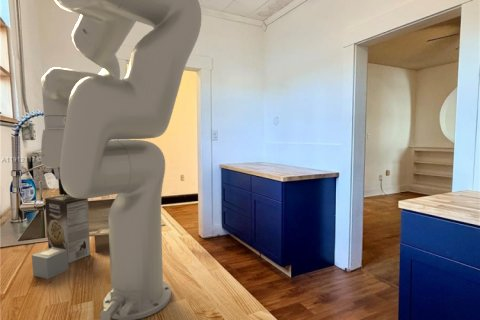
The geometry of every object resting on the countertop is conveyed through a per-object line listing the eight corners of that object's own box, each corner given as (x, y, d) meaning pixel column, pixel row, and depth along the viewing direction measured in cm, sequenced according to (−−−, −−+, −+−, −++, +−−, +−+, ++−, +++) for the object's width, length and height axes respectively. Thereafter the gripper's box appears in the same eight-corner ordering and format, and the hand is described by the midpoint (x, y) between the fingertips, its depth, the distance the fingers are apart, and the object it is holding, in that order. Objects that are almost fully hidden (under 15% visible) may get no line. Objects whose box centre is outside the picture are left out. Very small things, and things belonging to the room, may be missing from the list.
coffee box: (47, 256, 75) (43, 197, 74) (71, 248, 81) (68, 193, 79) (67, 264, 71) (64, 201, 69) (91, 254, 77) (88, 196, 75)
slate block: (48, 279, 64) (46, 258, 63) (33, 275, 65) (31, 254, 65) (68, 269, 68) (67, 249, 68) (54, 266, 70) (52, 246, 70)
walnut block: (114, 250, 79) (113, 233, 79) (95, 252, 78) (94, 234, 78) (117, 244, 84) (116, 227, 84) (99, 245, 83) (98, 229, 83)
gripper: (98, 124, 76) (101, 191, 77) (46, 125, 77) (51, 191, 79) (79, 122, 68) (84, 197, 70) (23, 124, 70) (28, 196, 71)
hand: (66, 193), depth 74 cm, fingers closed
